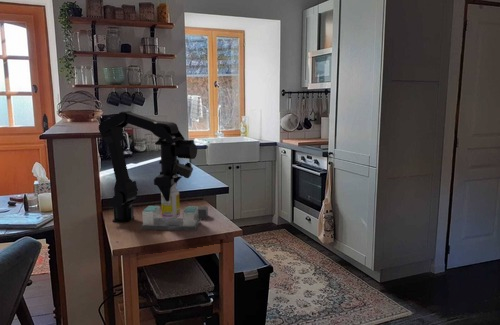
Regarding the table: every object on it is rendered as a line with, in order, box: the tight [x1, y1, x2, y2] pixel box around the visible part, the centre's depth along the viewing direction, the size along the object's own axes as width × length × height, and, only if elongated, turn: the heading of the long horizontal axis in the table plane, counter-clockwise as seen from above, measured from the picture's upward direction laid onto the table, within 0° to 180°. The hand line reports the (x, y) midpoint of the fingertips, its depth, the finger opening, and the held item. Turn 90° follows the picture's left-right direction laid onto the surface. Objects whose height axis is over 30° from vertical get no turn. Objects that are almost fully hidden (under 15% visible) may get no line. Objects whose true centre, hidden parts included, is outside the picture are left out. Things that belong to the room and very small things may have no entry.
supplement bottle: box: [160, 182, 181, 219], centre depth 143 cm, size 7×7×13 cm
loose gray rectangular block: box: [194, 206, 209, 220], centre depth 154 cm, size 5×4×4 cm
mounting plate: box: [140, 205, 201, 232], centre depth 144 cm, size 20×9×7 cm, turn 86°
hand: (170, 198), depth 142 cm, fingers closed on supplement bottle, 7 cm apart
